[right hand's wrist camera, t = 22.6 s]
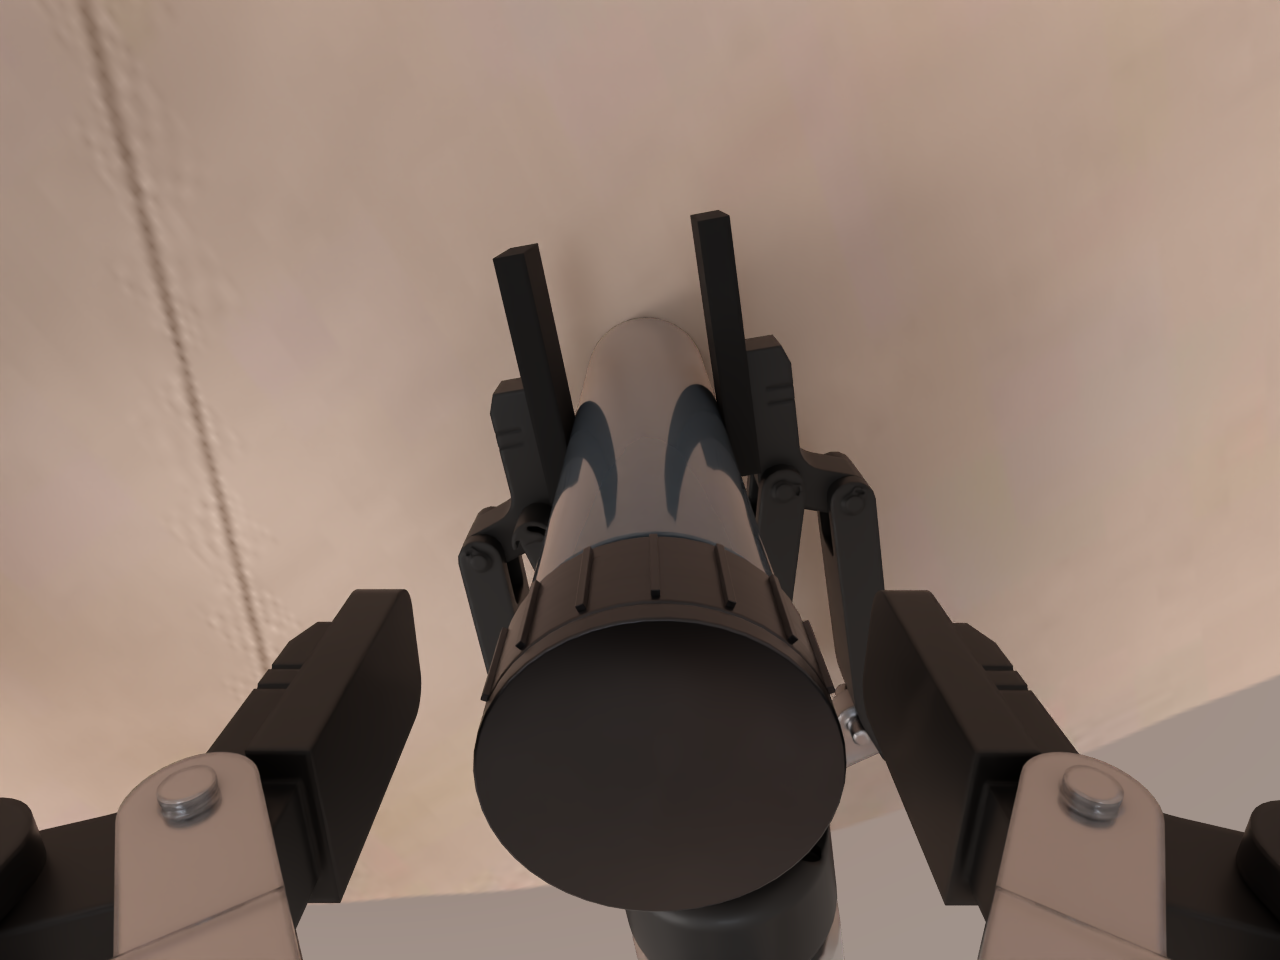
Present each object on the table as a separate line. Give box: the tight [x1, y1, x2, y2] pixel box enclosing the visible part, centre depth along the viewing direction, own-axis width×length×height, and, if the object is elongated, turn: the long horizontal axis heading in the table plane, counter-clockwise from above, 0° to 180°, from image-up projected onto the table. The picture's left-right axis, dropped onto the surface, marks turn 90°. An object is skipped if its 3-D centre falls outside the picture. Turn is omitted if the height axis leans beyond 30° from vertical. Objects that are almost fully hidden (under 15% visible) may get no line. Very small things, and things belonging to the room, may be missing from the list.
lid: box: [473, 534, 847, 912], centre depth 10 cm, size 5×5×2 cm
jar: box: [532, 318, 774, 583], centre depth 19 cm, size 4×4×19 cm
